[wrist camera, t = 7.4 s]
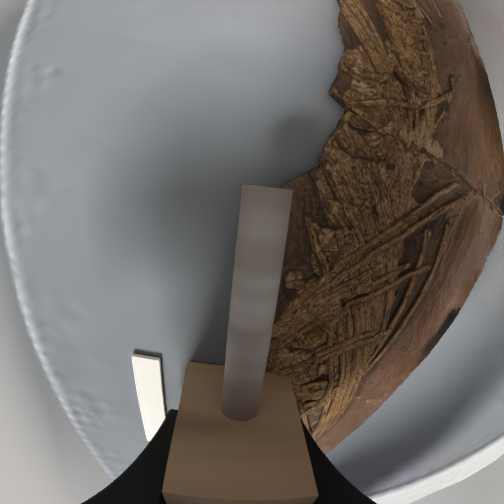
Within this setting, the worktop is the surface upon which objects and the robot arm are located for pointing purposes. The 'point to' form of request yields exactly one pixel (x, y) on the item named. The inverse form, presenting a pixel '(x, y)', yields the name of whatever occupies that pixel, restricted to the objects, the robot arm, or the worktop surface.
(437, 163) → the wooden fragment
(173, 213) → the worktop surface
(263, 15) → the worktop surface
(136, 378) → the strip
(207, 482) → the mallet
